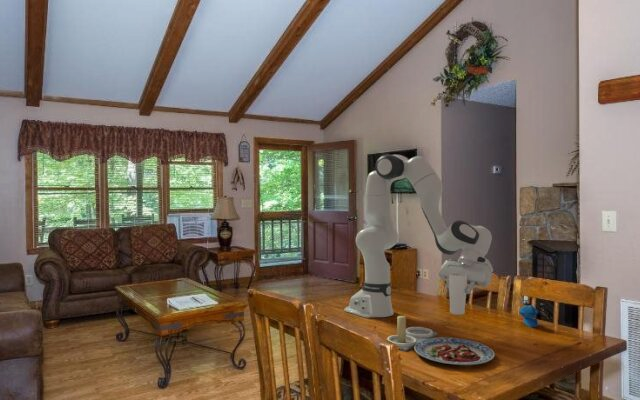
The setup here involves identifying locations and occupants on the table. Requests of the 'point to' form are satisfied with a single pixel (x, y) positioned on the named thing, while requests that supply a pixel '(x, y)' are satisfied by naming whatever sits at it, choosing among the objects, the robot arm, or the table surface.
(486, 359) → the ceramic plate
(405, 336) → the candle holder dish
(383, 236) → the robot arm
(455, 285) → the drinking glass
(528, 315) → the blue lumpy upright piece
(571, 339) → the table surface
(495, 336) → the table surface
